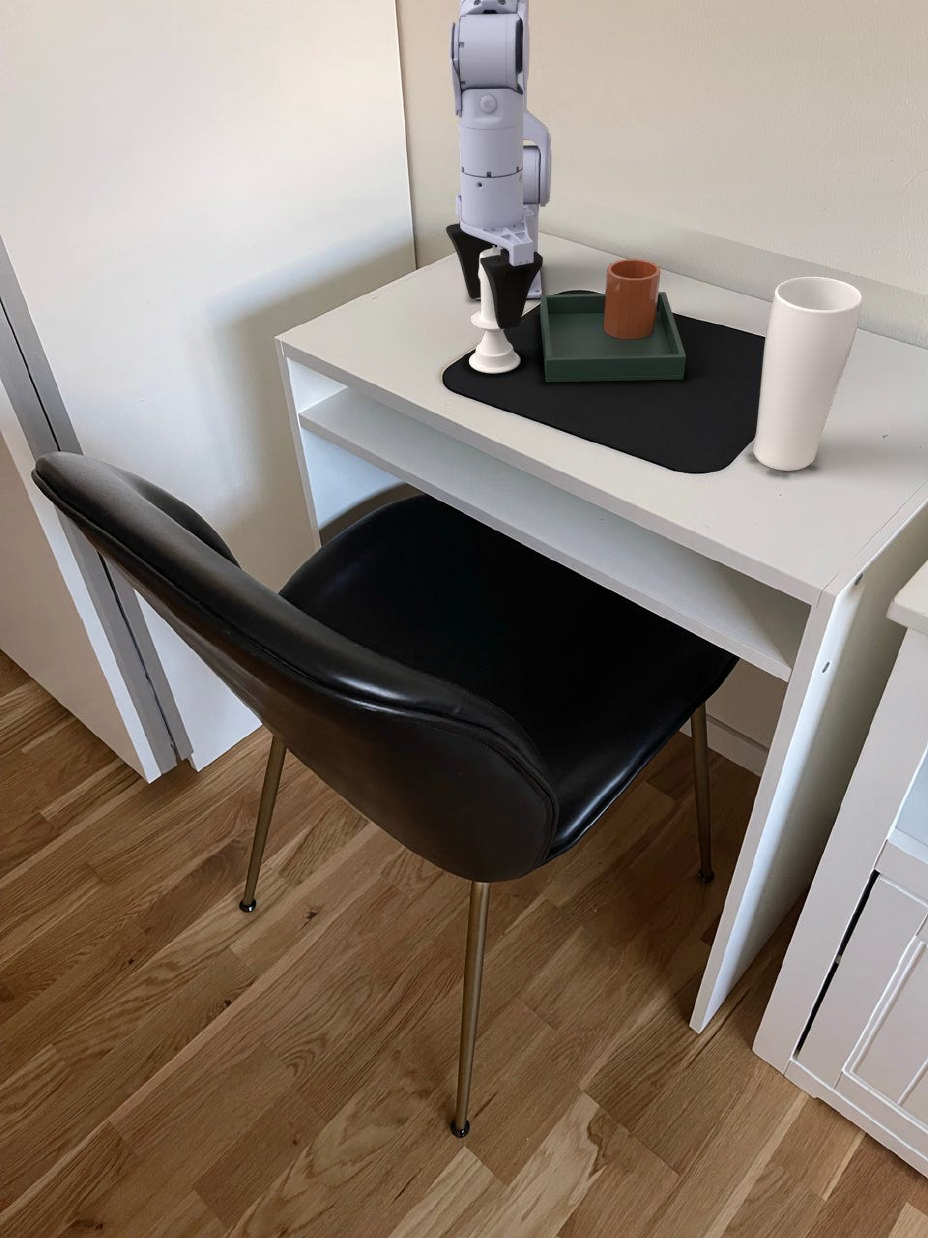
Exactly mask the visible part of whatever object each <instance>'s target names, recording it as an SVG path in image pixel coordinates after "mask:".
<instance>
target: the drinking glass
mask: <svg viewBox="0 0 928 1238" xmlns="http://www.w3.org/2000/svg"><path fill="white" fill-rule="evenodd" d="M863 301H864V297H863V293H862V292H861V291H860V290H859V289H858V288H856V287H855V286H853V285H852V284H850V283H848V282H845V281H842V280H838V279H835V278H830V277H823V276H800V277H794V278H791V279H787V280H785V281H783V282H781V283H779V285H777V286H776V288H775V290H774V293H773V298H772V302H771V306H770V309H769V310H770V311H769V315H768V319H767V324H766V332H765V340H764V346H763V355H762V365H761V366H762V367H761V379H760V387H759V389H760V390H759V401H758V408H757V420H756V430H755V435H754V440H753V446H752V447H753V448H752V451H753V455H754V457H755V459H757V460H758V462H759V463H761V464H762V465H764V466H766V467H767V468H770V469H773V470H777V471H784V472H792V471H799V470H803V469H805V468H807V467H809V466H810V465H811V464H812V463H813V462H814V461H815V459H816V456H817V453H818V449H819V444H820V441H821V438H822V435H823V432H824V429H825V426H826V423H827V420H828V418H829V414H830V411H831V408H832V406H833V403H834V400H835V397H836V394H837V391H838V389H839V386H840V383H841V381H842V377H843V374H844V371H845V369H846V366H847V363H848V360H849V358H850V354H851V351H852V348H853V345H854V341H855V338H856V333H857V330H858V325H859V321H860V316H861V310H862V305H863Z"/></svg>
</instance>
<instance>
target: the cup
mask: <svg viewBox="0 0 928 1238" xmlns="http://www.w3.org/2000/svg"><path fill="white" fill-rule="evenodd" d="M661 271H662V270H661V268H660V266H659V265H658V264H657V263H655V262H653V261H650V260H646V259H640V258H625V259H620V260H616V261H614V262H611V263H610V264H609V265H608V266H607V267H606V278H605V279H606V282H605V293H604V294H605V308H604V331H605V332H606V333H607V334H608V335H610V336H612V337H615V338H619V339H626V340H634V339H641V338H645V337H647V336H649V335H651V334H652V333H653V331H654V326H655V320H656V310H657V301H658V292H660V290H659V289H660V281H661V280H660V279H661Z"/></svg>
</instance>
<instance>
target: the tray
mask: <svg viewBox="0 0 928 1238" xmlns="http://www.w3.org/2000/svg"><path fill="white" fill-rule="evenodd" d="M604 308H605V293H574V294H570V293H568V294H567V293H566V294H542V295H541V297H540V312H539V314H540V316H539V317H540V327H541V339H542V341H541V342H542V351H543V363H544V376H545V383H582V382H583V383H584V382H586V383H588V382H590V383H591V382H632V381H675V380H676V381H680V380H684V377H685V376H684V375H685V369H686V361H687V355H686V351H685V349H684V347H683V346H684V345H683V343H682V339H681V336H680V334H679V330H678V327H677V324H676V320H675V318H674V314H673V311H672V308H671V305H670V302H669V298H668V295H667V293H666V291H658V301H657V310H656V320H655V326H654V331H653V333H652V334H651V335H649V336H647V337H645V338H641V339H634V340H626V339H619V338H615V337H612V336H610V335H608V334H607V333H606V332H605V331H604Z"/></svg>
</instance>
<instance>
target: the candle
mask: <svg viewBox="0 0 928 1238" xmlns="http://www.w3.org/2000/svg"><path fill="white" fill-rule="evenodd" d="M494 255H500V249H498V248H496V247H495V246H494V245H493V248H491V249H488V250H485V251H483V252H481V254H480V258H484V257H489V256H494ZM478 276H479V279H480V281H481V299H480V308H481V310H479V311H476V312H475V313H474V314H472V315H471V317H470V322H471V323H472V325H473V326H475V327H476V328H479V329H481V330H483V331H485V332H484V335H483V337H482V339H481V342H479V343H478V344H477V345H476V348H475V352H474V353H472V354H471V355H470V357H469V359H468V363H469V366H470V367H471V368H472V369H474V370H476V371H478V372H480V373H485V374H503V373H508V372H510V371H513V370H515V369H516V368H517V367H518V366H519V365H520V364H521V357H520V355H519V354H518V353H517V352H515V351H514V350H515V349H514V346H513V345H512V343H510V342H509V341H508V339H507V337H506V334H505V332H504V330H505V329H500V328H499V327H498V325H497V322H496V318H495V311H494V304H493V296H492V291H491V287H490V284H489V280H488V278H487V275H486V273H485V271H484V269H483V267H482V265H481V263H480V259H479V272H478Z"/></svg>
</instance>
